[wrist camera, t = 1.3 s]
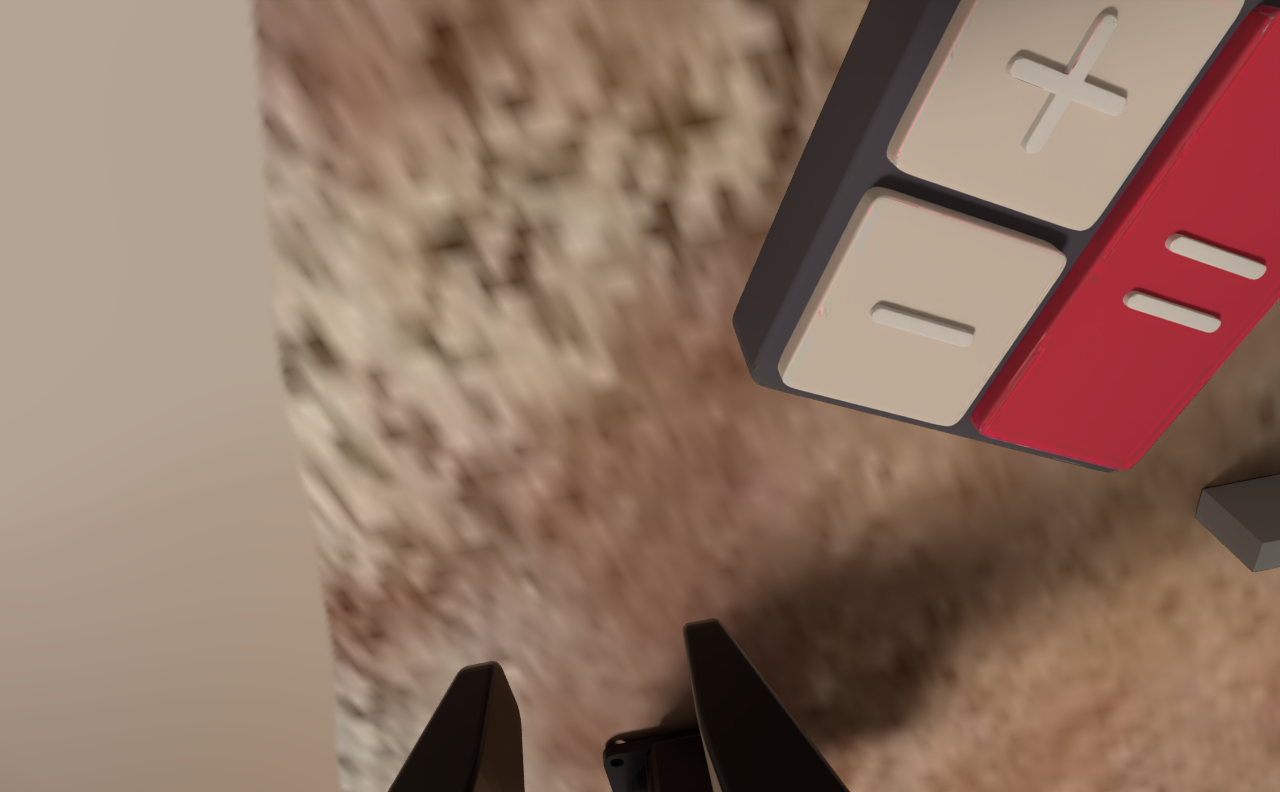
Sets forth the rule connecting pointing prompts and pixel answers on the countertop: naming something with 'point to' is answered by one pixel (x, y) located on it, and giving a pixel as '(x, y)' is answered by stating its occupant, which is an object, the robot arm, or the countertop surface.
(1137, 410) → the calculator
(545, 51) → the countertop surface
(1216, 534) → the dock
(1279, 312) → the countertop surface
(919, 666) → the countertop surface
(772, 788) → the robot arm
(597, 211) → the countertop surface
